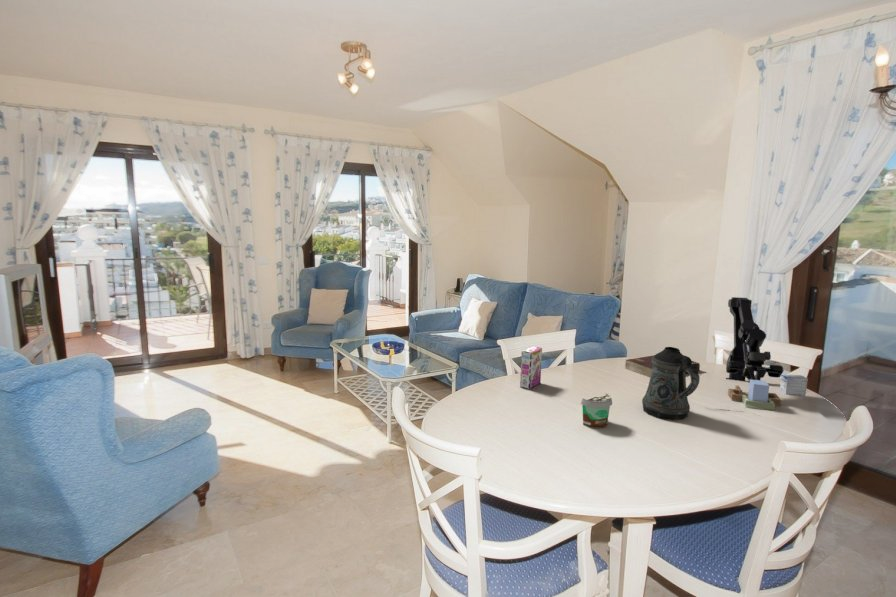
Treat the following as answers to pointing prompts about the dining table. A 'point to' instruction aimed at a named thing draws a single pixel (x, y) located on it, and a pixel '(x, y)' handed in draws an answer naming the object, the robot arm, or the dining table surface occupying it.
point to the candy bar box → (531, 367)
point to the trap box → (743, 397)
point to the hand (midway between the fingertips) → (756, 388)
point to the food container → (596, 411)
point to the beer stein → (670, 385)
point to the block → (758, 391)
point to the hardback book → (647, 365)
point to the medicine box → (793, 384)
